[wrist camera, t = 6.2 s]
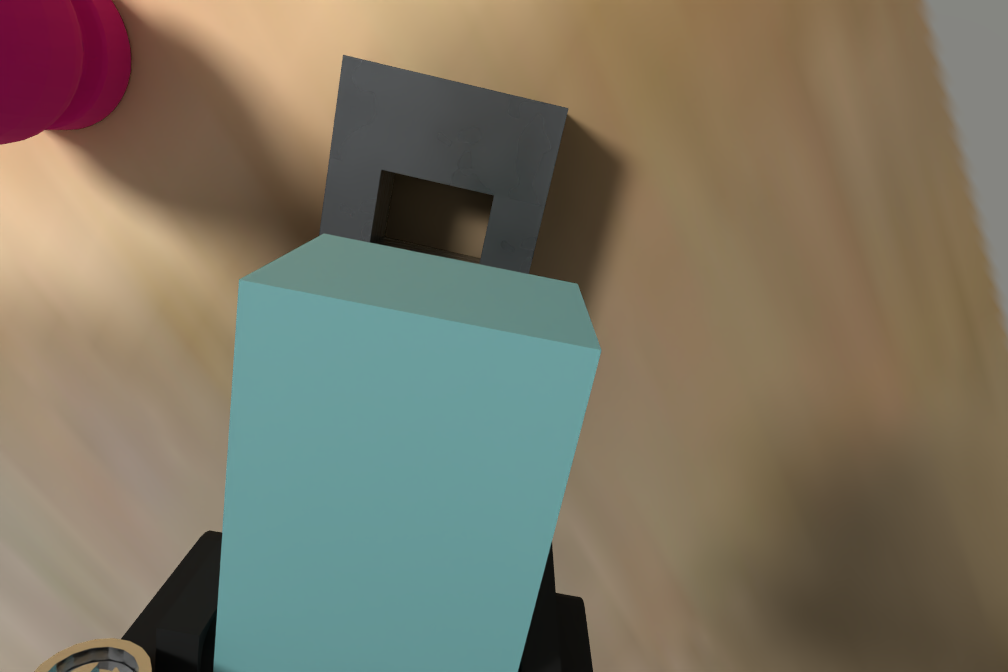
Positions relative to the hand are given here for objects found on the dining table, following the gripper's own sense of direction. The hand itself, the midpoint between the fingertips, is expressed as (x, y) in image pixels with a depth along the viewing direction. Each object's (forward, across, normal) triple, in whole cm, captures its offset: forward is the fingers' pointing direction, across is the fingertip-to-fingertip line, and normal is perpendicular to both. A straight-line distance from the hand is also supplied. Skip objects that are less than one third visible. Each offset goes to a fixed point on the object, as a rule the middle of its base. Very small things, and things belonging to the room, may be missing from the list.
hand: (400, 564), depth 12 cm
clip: (+2, 0, 0) cm, 2 cm away
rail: (+17, +2, 0) cm, 17 cm away
